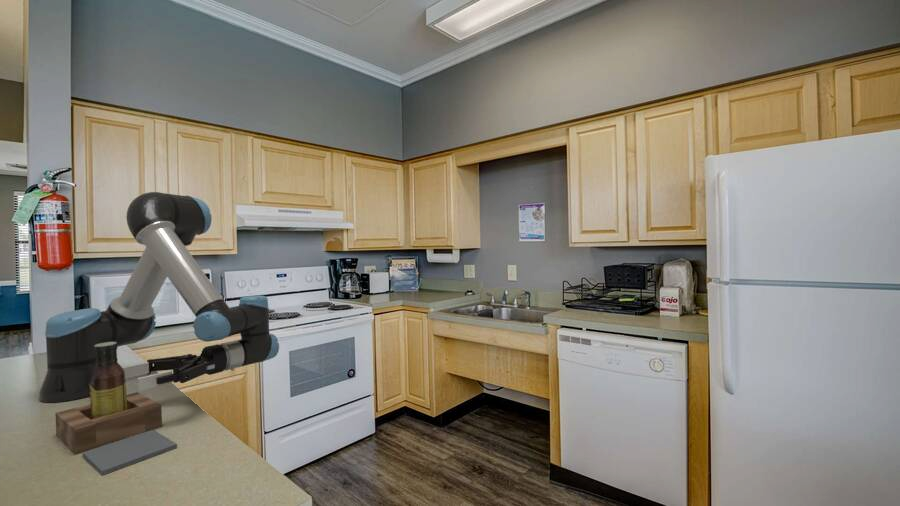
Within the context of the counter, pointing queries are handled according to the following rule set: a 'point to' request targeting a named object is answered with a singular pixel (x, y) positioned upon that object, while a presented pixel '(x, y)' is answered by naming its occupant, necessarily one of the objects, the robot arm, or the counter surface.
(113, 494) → the counter surface
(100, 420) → the rectangular frame
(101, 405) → the sauce bottle
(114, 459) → the mat
